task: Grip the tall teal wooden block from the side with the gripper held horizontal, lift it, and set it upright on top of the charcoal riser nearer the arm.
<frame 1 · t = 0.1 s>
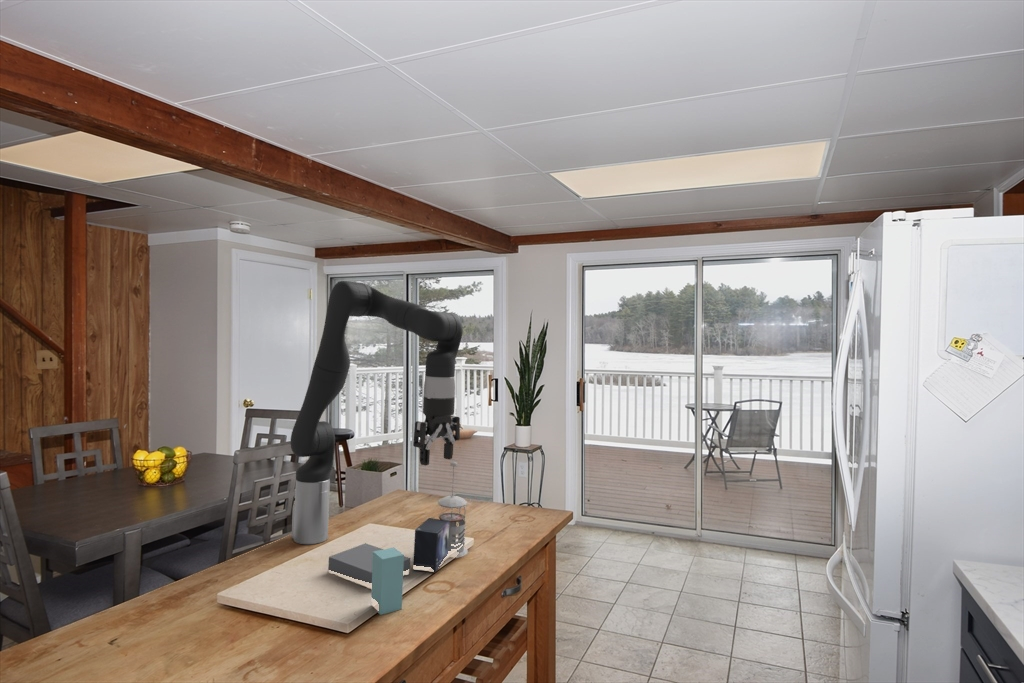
hand: (436, 461, 144), 29 cm above the kitchen island, tool pointing down, fingers open, 8 cm apart
charcoal riser: (369, 573, 147), on the kitchen island
small box: (431, 565, 155), on the kitchen island
teal block: (386, 607, 130), on the kitchen island
french press: (451, 551, 165), on the kitchen island
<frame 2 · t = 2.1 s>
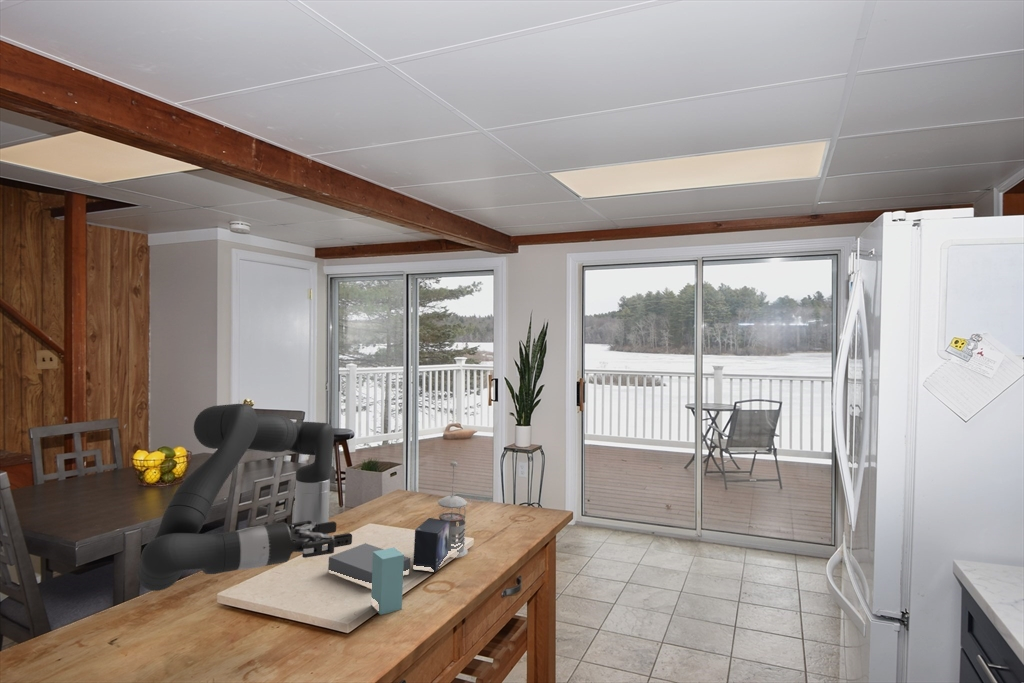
hand: (343, 532, 123), 18 cm above the kitchen island, tool horizontal, fingers open, 8 cm apart
nothing on the kitchen island moved.
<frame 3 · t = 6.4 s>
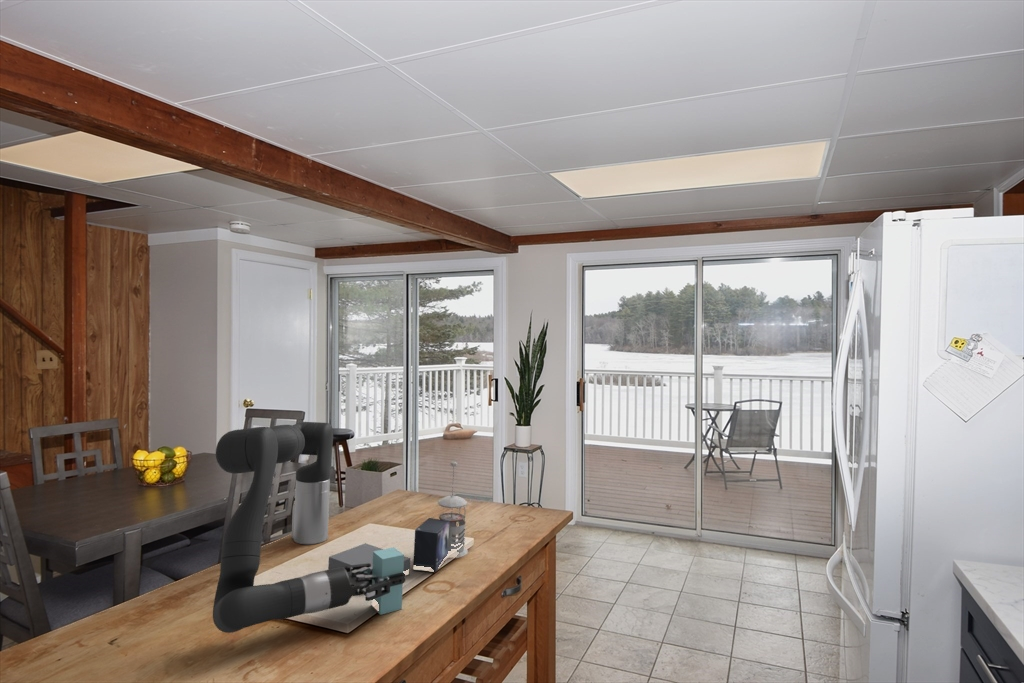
hand: (398, 573, 132), 7 cm above the kitchen island, tool horizontal, fingers closed on teal block, 5 cm apart
teal block: (386, 607, 130), on the kitchen island, touching gripper
everything else where it was.
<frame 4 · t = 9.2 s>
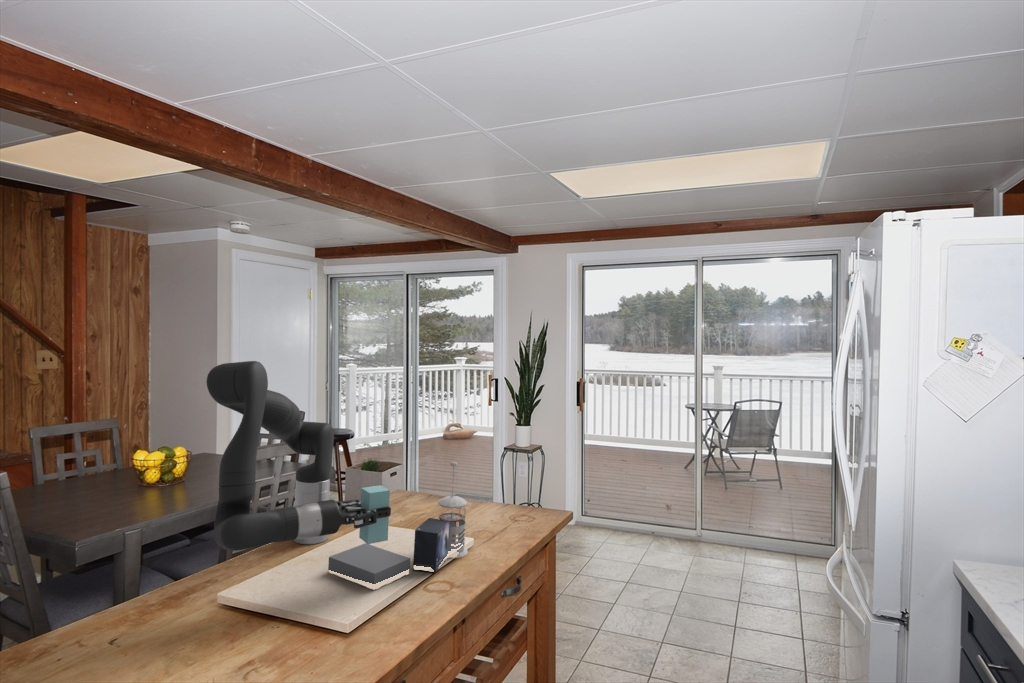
hand: (384, 508, 143), 18 cm above the kitchen island, tool horizontal, fingers closed on teal block, 5 cm apart
teal block: (373, 539, 142), point 11 cm above the kitchen island, touching gripper
everything else where it was.
when the fingers open (12 cm above the kitchen island, at t = 11.8 s): teal block drops 1 cm, resting on charcoal riser.
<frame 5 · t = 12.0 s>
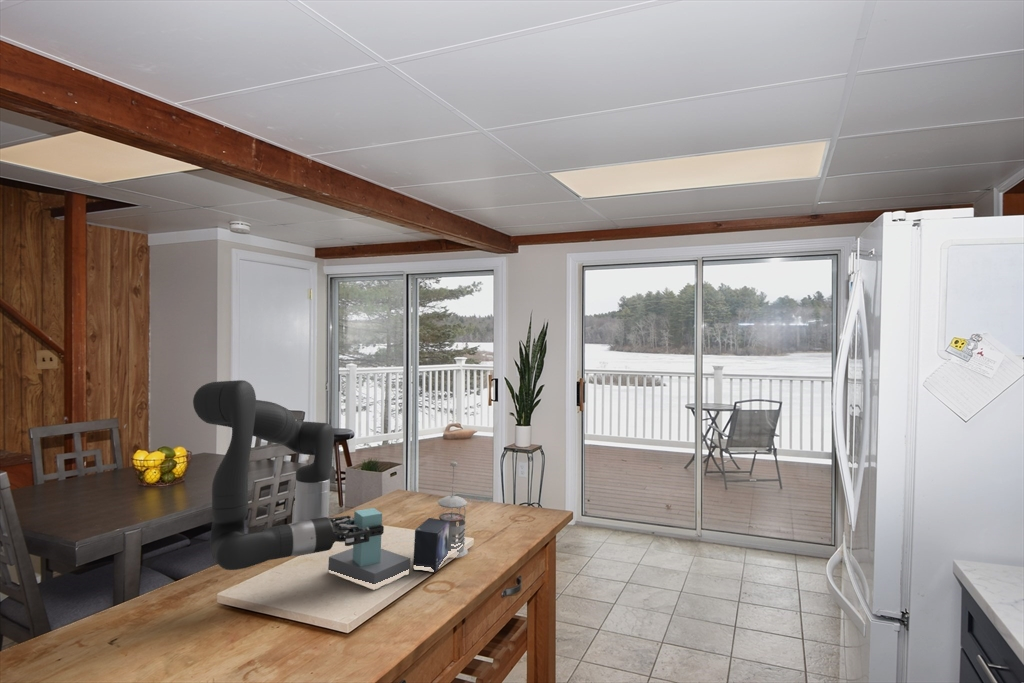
hand: (376, 524, 146), 12 cm above the kitchen island, tool horizontal, fingers open, 6 cm apart
teal block: (366, 560, 145), point 4 cm above the kitchen island, touching charcoal riser
everything else where it was.
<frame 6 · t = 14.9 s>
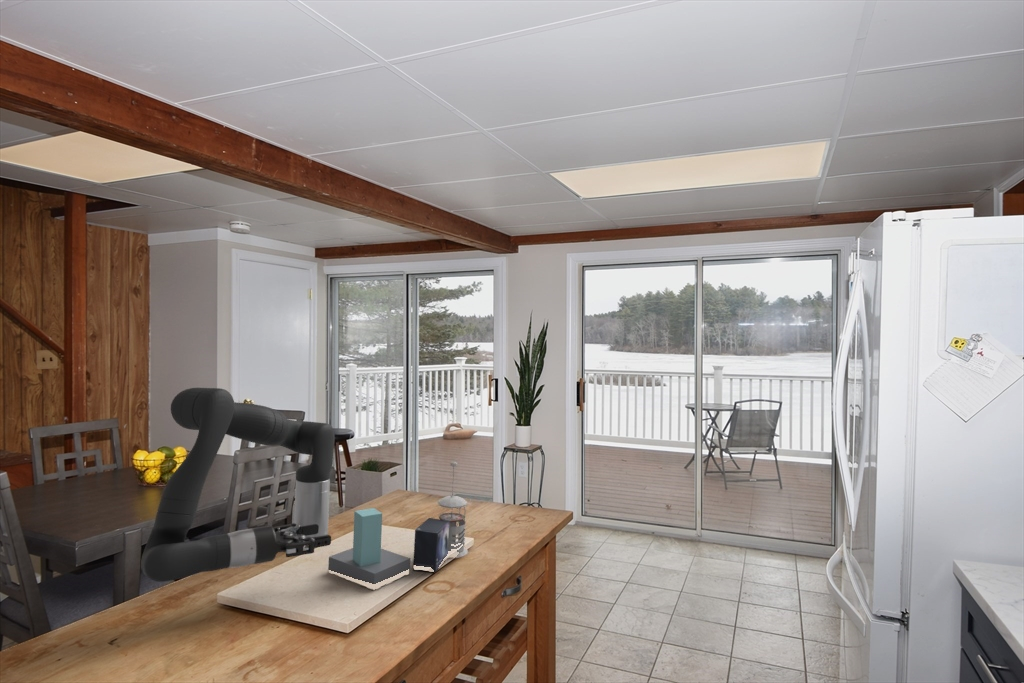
hand: (324, 533, 138), 13 cm above the kitchen island, tool horizontal, fingers open, 8 cm apart
nothing on the kitchen island moved.
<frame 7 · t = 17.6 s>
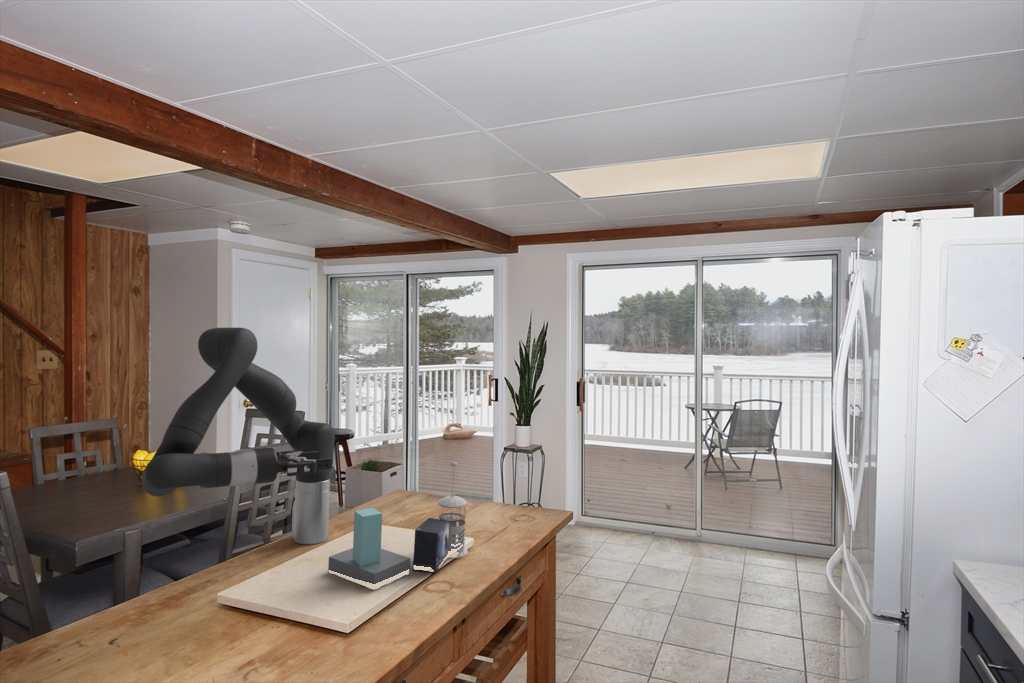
hand: (325, 459, 138), 30 cm above the kitchen island, tool horizontal, fingers open, 8 cm apart
nothing on the kitchen island moved.
at the end: teal block inside the target area on the charcoal riser (2.2 cm from its centre), point 4.0 cm above the charcoal riser's base; teal block tilted 0°; the gripper is holding nothing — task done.
